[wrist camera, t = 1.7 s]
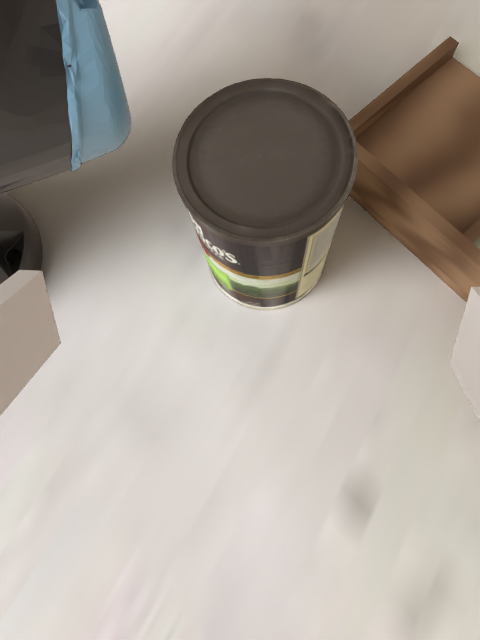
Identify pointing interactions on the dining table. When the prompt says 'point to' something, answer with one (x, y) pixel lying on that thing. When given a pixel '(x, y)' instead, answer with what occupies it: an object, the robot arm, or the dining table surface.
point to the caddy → (426, 165)
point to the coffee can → (265, 186)
